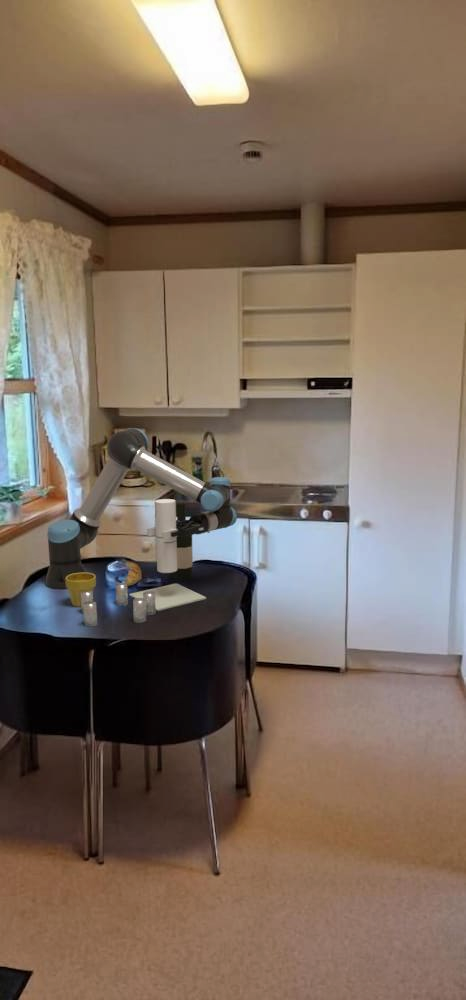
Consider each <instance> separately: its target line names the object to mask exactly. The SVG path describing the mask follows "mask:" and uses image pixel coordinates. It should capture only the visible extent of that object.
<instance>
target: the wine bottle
mask: <svg viewBox="0 0 466 1000" xmlns="http://www.w3.org/2000/svg"><path fill="white" fill-rule="evenodd" d="M186 511H187V510H186V502H185V501H184V500H178V502H177V503H176V520H180V521H184V520H187V515H186ZM193 557H194V556H193V535H190V536H187V537H183V536H181V537H180V536H178V537H177V571H175V572H171V575H172V576H171V577H172V578H174V579H175V580H183V579H184V580H186V579H190V578H193V572H194V571H193V570H194V569H193Z"/></svg>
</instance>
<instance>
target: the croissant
mask: <svg viewBox="0 0 466 1000" xmlns="http://www.w3.org/2000/svg"><path fill="white" fill-rule="evenodd" d="M125 564H126V566H129V567H131V568H132V570H131V569H129V571H128V572H129V573H128V575H127V576H126V577H127V578H126V581H125V583H127V587H130V586H132V585H135V584H137V583H138V582H139V581H141V580H142V577H143V576H142V570H141V568H140V566H139V565H138V564H137V563H135V562H133V561H127V562H125Z"/></svg>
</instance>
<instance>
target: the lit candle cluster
mask: <svg viewBox="0 0 466 1000" xmlns="http://www.w3.org/2000/svg"><path fill="white" fill-rule="evenodd" d="M128 596H129V594H128V586H127V583H122V582H118V583H115V601H116V603H115V604H116V606H126V605H128V604H129V597H128ZM80 607H81V613H82V614H83V619H84V620H83V621H84V626H85V627H95V626H97V625H98V612H97V602H96V601H94V590H93V591H92V590H84V591H81V606H80ZM132 607H133V609H132V612H133V622H134V623H136V624H142V623H145V622H147V616H153V615H155V614H157V611H156V601H155V592H153V591H147V592H144V593H143V598H136V599H135V598H133V600H132Z"/></svg>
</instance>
